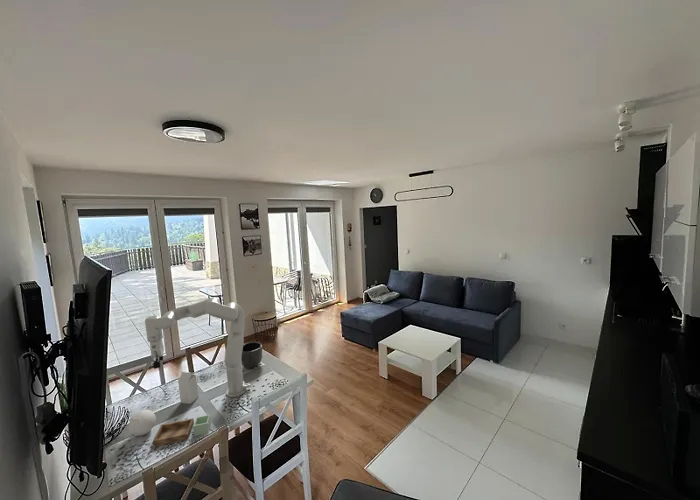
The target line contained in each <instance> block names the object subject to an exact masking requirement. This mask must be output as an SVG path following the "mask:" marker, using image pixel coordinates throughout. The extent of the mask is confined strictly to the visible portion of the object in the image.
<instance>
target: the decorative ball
mask: <svg viewBox="0 0 700 500" xmlns="http://www.w3.org/2000/svg"><path fill="white" fill-rule="evenodd" d="M156 422H157V416H156V414H155V412H154V411H152V410H150V409H144V410H143V409H142V410H140V411H138V412H136V413H135V414H134V415H133V416H132V417H131V418H130V419H129V422H128V431H129V432H130V433H131V434H132V435H134V436H137V437H138V436H144V435H147V434H148V433H149V432H150V431H151V430H152V429H154V427H155V425H156Z"/></svg>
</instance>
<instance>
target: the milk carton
mask: <svg viewBox="0 0 700 500" xmlns="http://www.w3.org/2000/svg"><path fill="white" fill-rule="evenodd" d="M177 382H178V384H177V385H178V391H179V399H180V403H181V404H188V405H191V404H192V403H193V402H195V401H196V399H198V398H199V391H198V390H199V389H198V382H197V375H196V374H193V373H192V372H189V371H181V374H180V376H179V378H178V380H177Z"/></svg>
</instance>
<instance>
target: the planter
mask: <svg viewBox="0 0 700 500" xmlns="http://www.w3.org/2000/svg"><path fill="white" fill-rule="evenodd" d="M262 359H263V345H262V343H261V342H259V341H250V342H246V343H243V350H242V356H241V360H242V367H244V368H245V369H246V370H254V369H256V368H257V367H258V366H259V364H261V362H262Z"/></svg>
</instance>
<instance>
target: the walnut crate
mask: <svg viewBox="0 0 700 500" xmlns="http://www.w3.org/2000/svg"><path fill="white" fill-rule="evenodd" d="M194 422H195V419H194V418H188V419H183V420H178V421H172V422H167V423H163V424H161V425H160V426H159V429H158V430H157V432H156V435H154V436H155V437H154V438H153V440H152V445H153V446H152V447H153V448H155V447H159V446H165V445H169V444H172V443H179V442H182V441H183V442H184V441H186V440H188V441H189V438H190V436H191V433H192V431H193V425H194Z"/></svg>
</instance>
